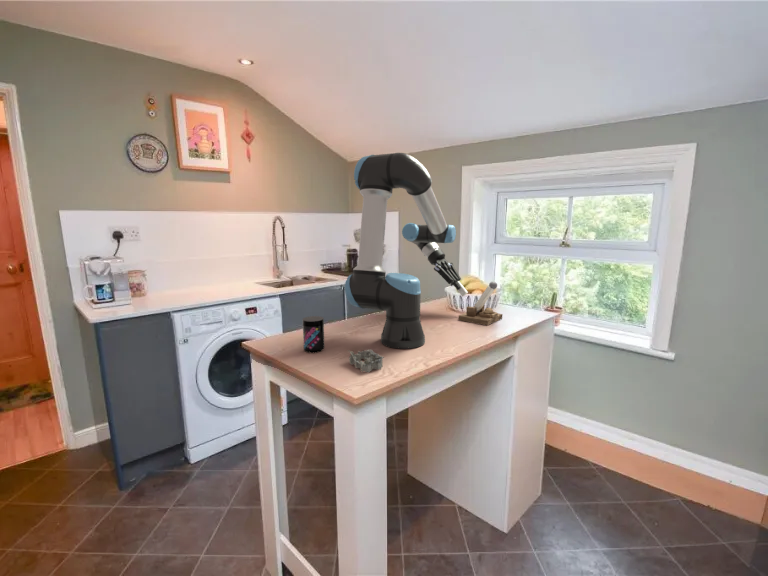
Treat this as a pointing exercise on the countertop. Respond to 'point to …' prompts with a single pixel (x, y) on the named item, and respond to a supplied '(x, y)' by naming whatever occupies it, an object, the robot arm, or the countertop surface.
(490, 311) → the walnut
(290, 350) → the countertop surface
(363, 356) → the egg carton
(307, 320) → the supplement container
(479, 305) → the lever
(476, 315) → the base
